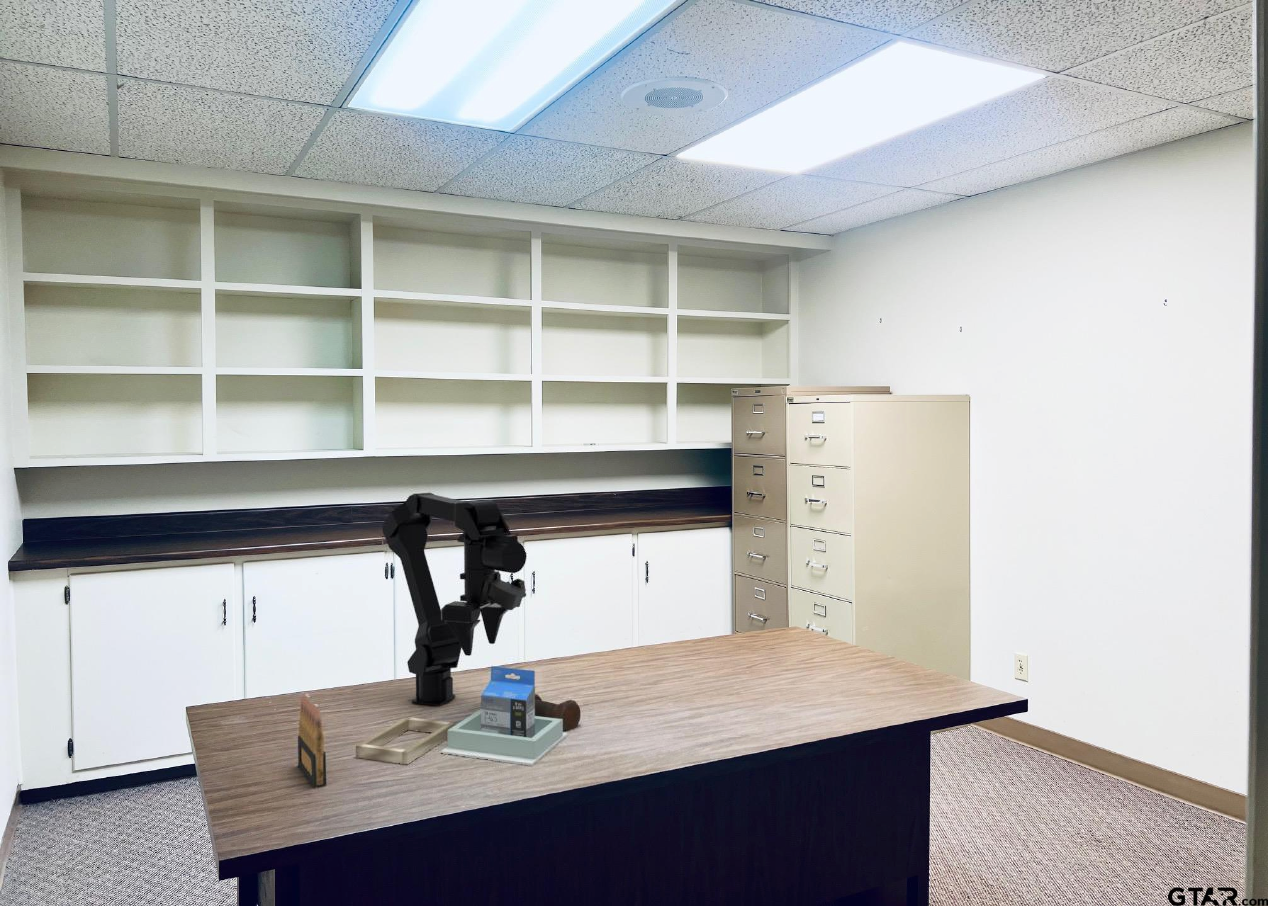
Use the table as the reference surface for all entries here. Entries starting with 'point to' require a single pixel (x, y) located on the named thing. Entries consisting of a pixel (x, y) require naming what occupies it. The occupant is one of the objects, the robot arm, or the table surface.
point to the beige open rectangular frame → (374, 744)
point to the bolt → (559, 712)
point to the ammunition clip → (311, 743)
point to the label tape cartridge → (509, 703)
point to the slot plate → (504, 741)
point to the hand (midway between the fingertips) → (480, 649)
